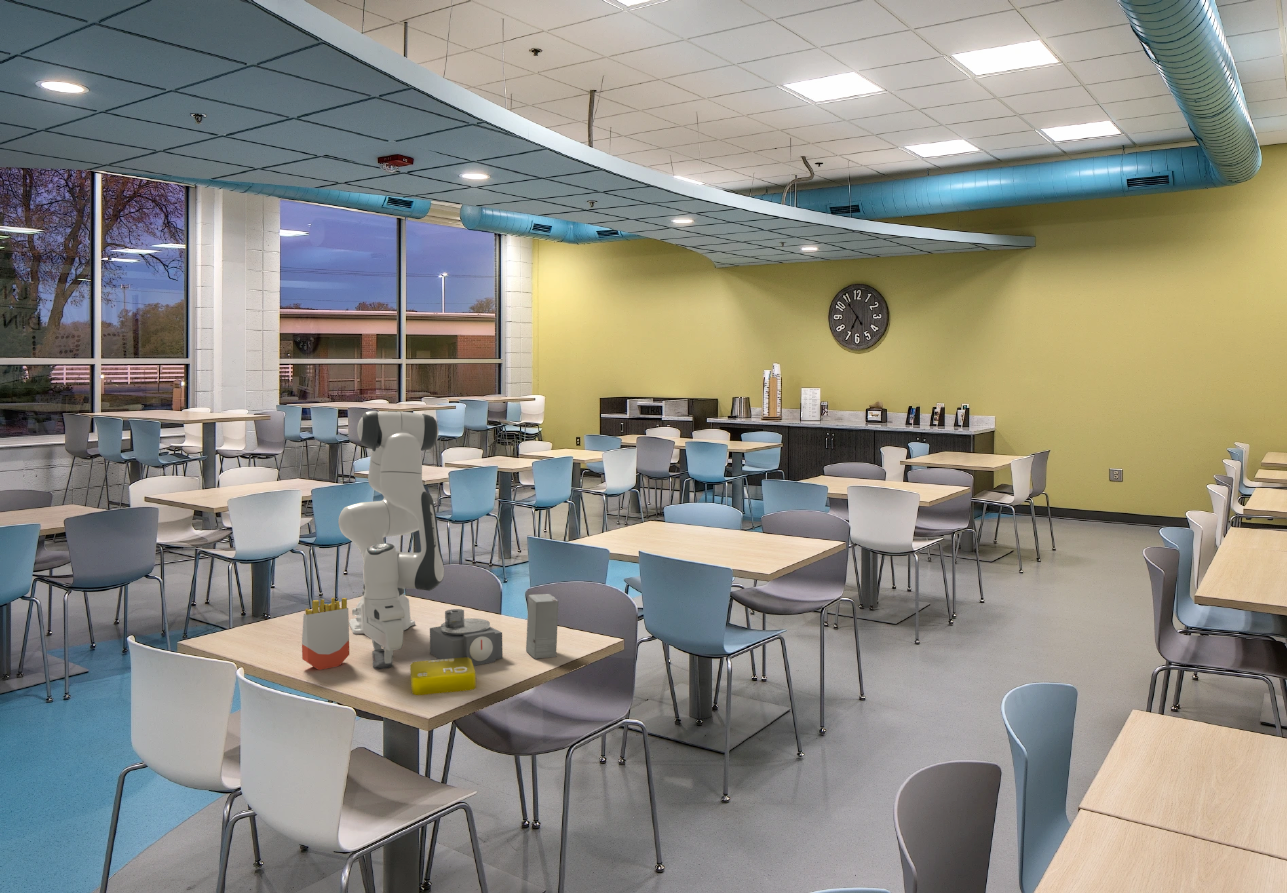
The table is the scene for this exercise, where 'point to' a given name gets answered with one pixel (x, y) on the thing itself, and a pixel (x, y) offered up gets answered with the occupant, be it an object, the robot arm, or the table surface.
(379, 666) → the spacer
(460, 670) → the element tile
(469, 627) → the scale pan
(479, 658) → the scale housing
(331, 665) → the french fries container
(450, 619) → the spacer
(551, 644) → the skincare box
